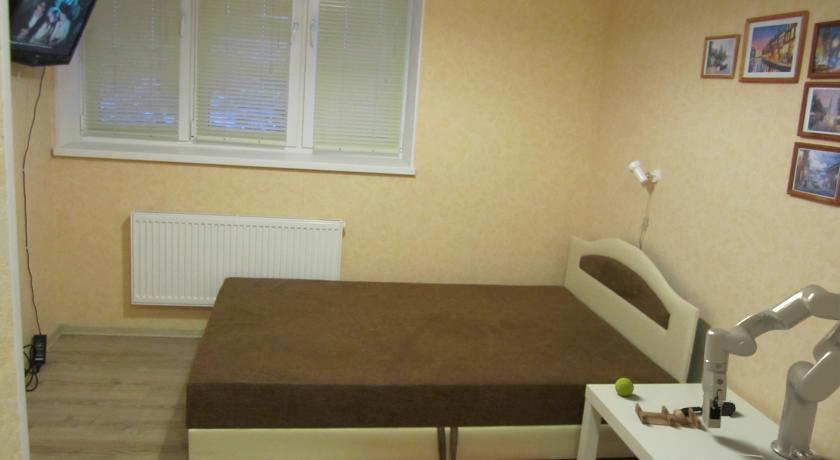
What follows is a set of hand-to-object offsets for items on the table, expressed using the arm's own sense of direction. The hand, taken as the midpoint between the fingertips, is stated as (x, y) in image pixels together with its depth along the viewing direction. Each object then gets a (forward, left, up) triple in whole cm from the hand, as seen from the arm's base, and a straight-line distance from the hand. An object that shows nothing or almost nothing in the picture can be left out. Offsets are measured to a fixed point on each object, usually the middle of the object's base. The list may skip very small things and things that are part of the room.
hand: (710, 413), depth 225 cm
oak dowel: (+9, +6, -8) cm, 14 cm away
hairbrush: (+19, -6, -9) cm, 21 cm away
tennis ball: (+28, +22, -9) cm, 37 cm away
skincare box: (0, 0, -4) cm, 4 cm away
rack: (+9, +11, -9) cm, 17 cm away
